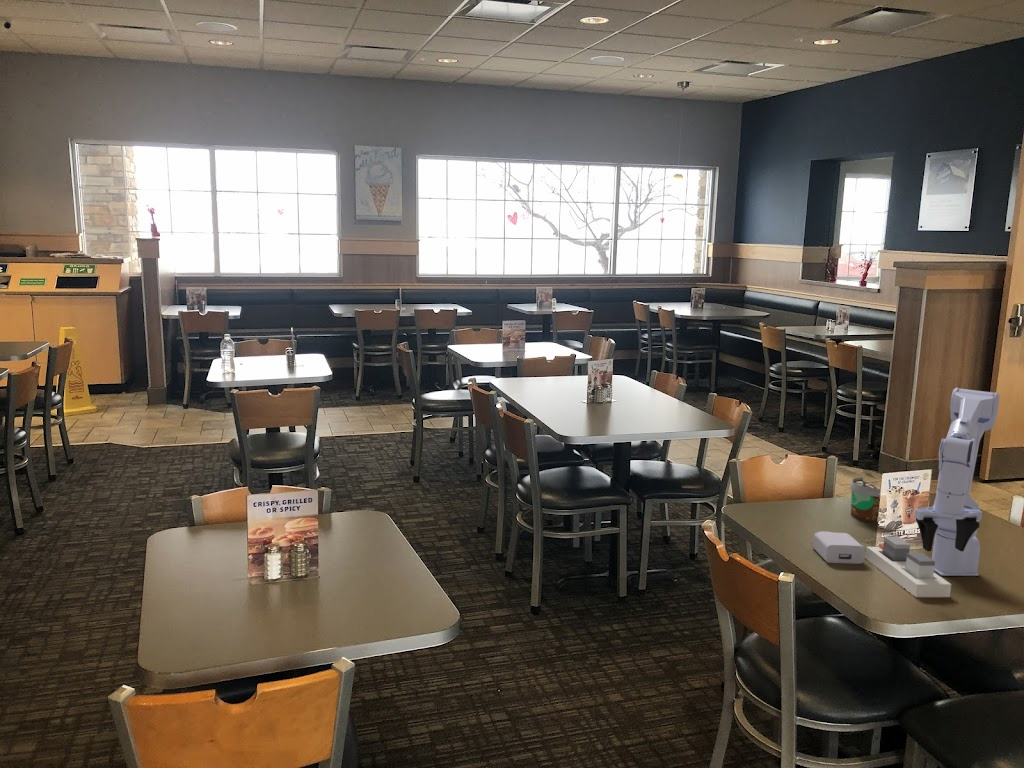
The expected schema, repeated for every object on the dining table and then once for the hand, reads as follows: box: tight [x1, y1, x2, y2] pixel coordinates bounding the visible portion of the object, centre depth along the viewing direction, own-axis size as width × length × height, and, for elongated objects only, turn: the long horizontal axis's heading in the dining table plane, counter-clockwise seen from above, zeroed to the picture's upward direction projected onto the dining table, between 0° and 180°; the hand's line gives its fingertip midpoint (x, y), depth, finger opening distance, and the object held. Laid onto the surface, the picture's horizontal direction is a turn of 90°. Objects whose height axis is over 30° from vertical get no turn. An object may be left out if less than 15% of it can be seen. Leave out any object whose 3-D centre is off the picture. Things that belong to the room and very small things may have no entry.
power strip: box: [864, 543, 952, 598], centre depth 194 cm, size 8×22×4 cm, turn 5°
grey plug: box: [905, 552, 935, 579], centre depth 188 cm, size 4×5×7 cm
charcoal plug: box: [882, 536, 911, 562], centre depth 198 cm, size 4×5×7 cm
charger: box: [812, 530, 866, 565], centre depth 208 cm, size 5×9×15 cm
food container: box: [849, 476, 881, 524], centre depth 234 cm, size 12×6×10 cm, turn 6°
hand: (943, 549), depth 185 cm, fingers open, 7 cm apart
